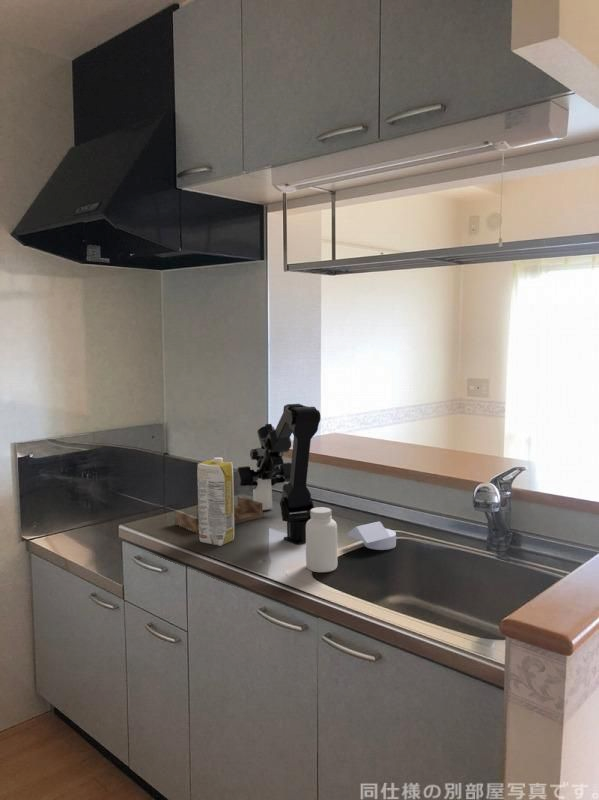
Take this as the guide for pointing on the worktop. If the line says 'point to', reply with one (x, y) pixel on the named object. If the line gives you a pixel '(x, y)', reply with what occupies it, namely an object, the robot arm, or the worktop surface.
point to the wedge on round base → (374, 536)
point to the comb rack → (241, 513)
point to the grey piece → (263, 493)
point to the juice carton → (216, 501)
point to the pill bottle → (321, 541)
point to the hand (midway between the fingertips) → (260, 487)
